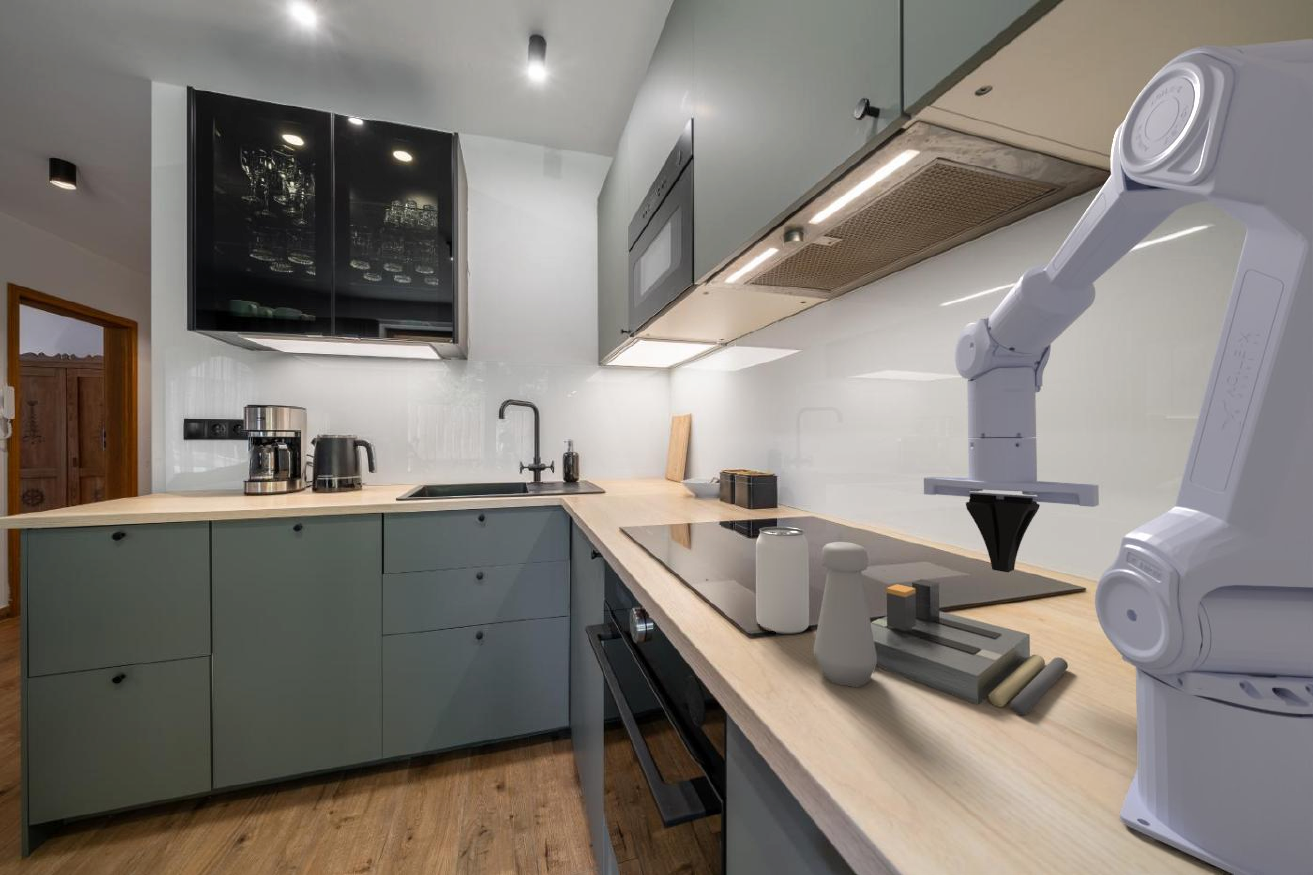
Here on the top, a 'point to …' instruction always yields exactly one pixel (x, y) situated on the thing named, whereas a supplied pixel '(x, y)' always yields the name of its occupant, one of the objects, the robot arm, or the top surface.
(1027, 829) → the top surface
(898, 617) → the toggle
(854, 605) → the salt shaker
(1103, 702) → the top surface
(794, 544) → the can
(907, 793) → the top surface
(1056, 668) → the pair of rollers
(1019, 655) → the dual slot slider
